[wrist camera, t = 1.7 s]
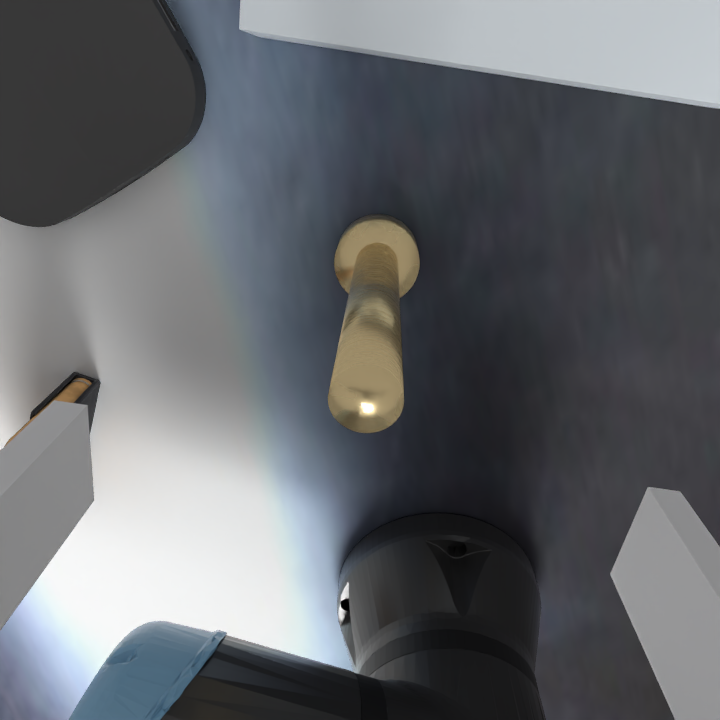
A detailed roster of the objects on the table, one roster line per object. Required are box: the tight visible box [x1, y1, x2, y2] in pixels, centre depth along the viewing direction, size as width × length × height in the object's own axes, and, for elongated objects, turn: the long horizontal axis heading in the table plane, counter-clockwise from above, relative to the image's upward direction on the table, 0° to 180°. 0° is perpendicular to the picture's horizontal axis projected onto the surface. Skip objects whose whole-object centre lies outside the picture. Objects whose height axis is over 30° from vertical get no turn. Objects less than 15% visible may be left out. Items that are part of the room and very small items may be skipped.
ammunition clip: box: [4, 372, 100, 447], centre depth 36 cm, size 11×2×12 cm, turn 160°
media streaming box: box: [0, 0, 206, 227], centre depth 30 cm, size 15×15×3 cm
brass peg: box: [328, 214, 420, 433], centre depth 27 cm, size 5×5×18 cm
